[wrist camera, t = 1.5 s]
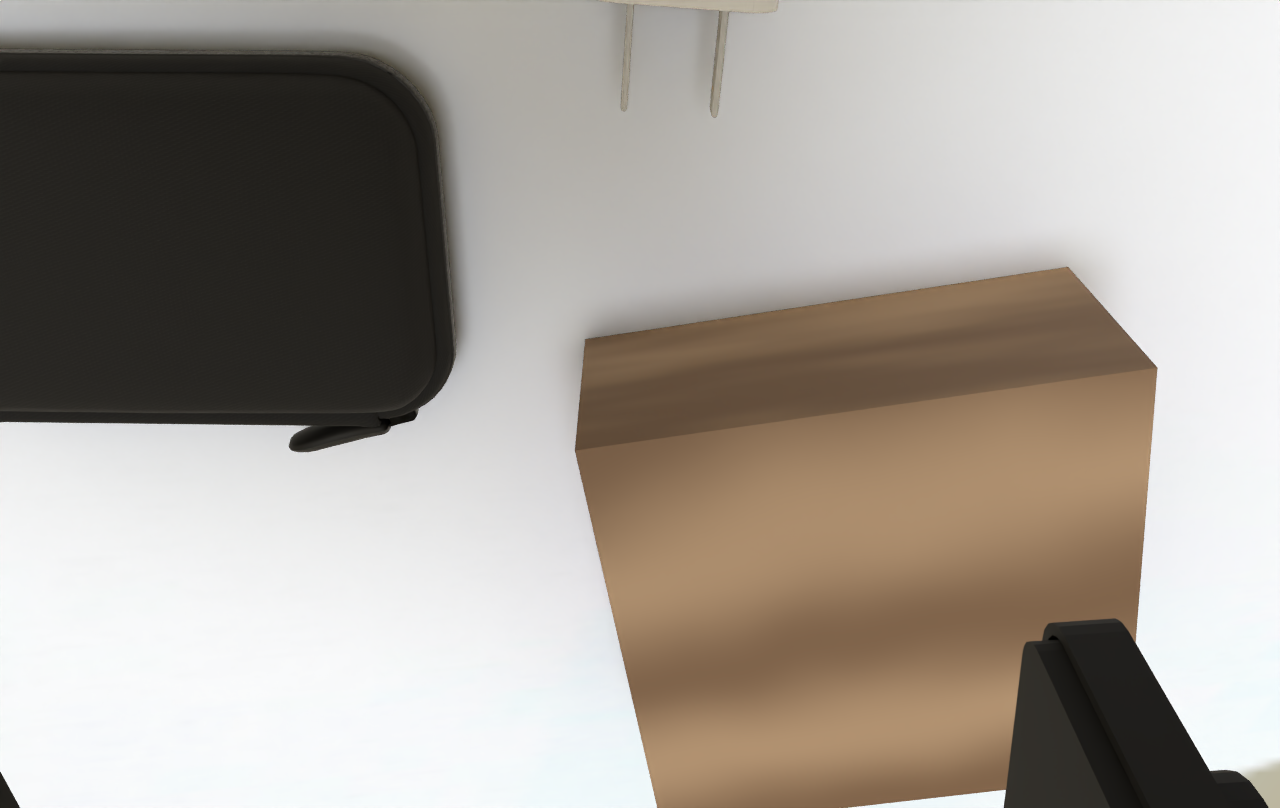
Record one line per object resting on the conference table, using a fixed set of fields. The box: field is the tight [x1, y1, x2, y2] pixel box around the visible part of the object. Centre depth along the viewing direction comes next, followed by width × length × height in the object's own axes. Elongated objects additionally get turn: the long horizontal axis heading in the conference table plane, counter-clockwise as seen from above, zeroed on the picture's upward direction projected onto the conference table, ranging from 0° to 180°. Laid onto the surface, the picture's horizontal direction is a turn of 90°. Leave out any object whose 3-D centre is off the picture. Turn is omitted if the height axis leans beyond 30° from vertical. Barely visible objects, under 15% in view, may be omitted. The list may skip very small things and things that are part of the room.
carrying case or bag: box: [0, 49, 456, 452], centre depth 28 cm, size 11×3×15 cm
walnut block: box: [575, 267, 1157, 808], centre depth 30 cm, size 13×13×6 cm
